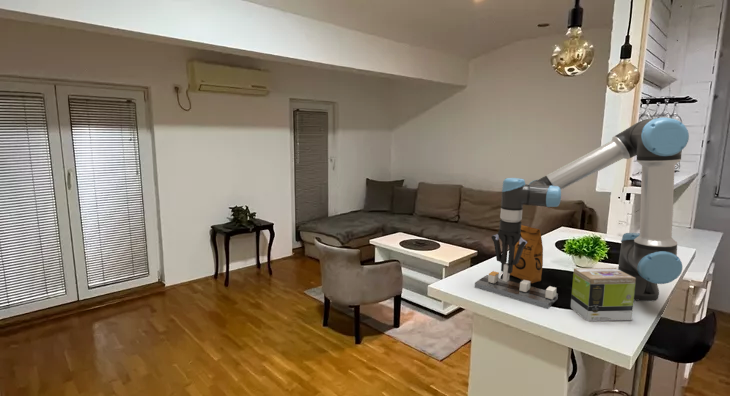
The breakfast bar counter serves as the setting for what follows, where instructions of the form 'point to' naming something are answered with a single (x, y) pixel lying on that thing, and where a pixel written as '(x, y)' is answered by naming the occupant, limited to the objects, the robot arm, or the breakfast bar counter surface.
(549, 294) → the block
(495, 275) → the block
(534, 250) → the coffee package
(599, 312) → the tea box
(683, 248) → the breakfast bar counter surface
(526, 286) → the block
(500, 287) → the panel
